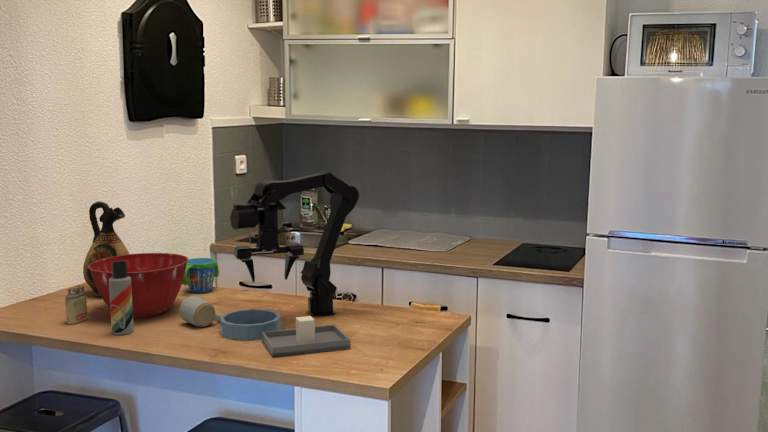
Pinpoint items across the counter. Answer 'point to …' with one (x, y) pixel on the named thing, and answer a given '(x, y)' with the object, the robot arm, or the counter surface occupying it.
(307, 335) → the beige rectangular block
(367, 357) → the counter surface
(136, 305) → the mixing bowl
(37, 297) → the counter surface
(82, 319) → the lighter
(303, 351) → the tray
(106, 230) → the ceramic jug
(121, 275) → the lotion bottle
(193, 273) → the snack cup
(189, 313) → the ceramic mug
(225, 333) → the blue ring
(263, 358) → the counter surface
